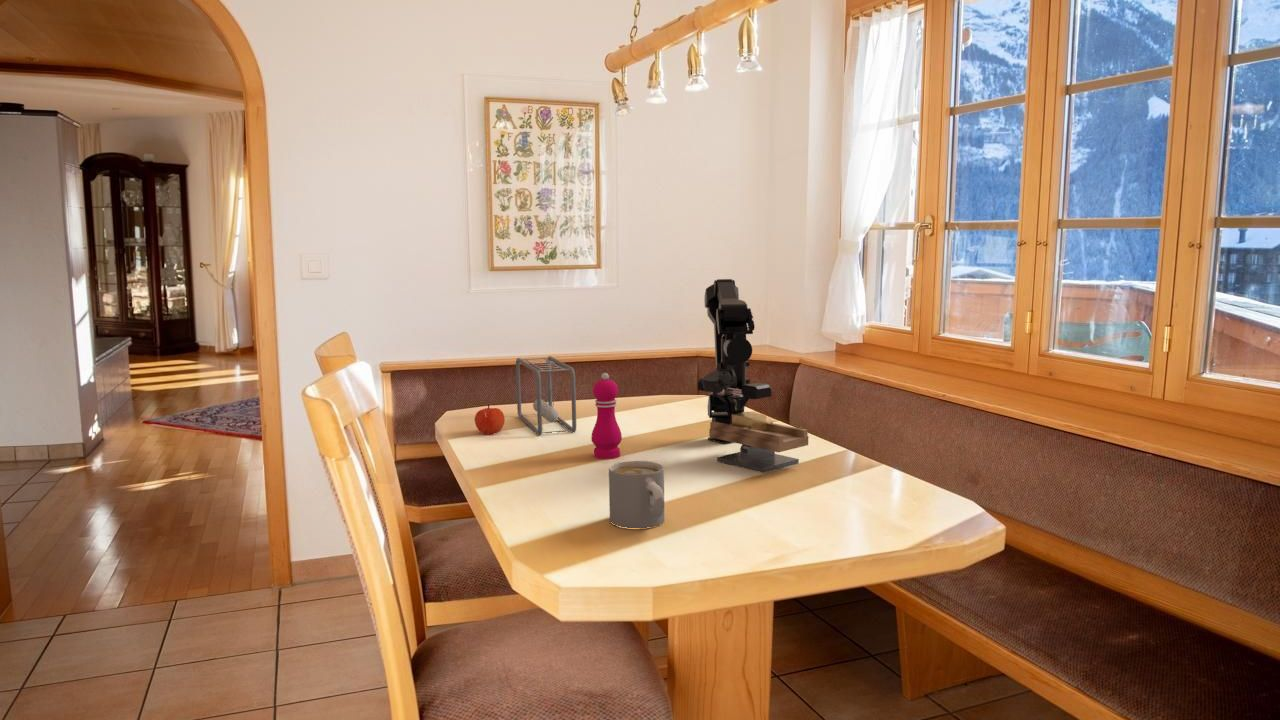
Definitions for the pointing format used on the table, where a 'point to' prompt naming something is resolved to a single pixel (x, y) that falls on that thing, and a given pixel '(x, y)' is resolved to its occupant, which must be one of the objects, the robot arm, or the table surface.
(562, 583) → the table surface
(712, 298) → the robot arm
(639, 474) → the coffee mug
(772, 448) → the wooden tray
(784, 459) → the fulcrum stand
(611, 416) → the pepper mill
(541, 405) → the newton's cradle
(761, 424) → the tan wooden block
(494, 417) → the apple
